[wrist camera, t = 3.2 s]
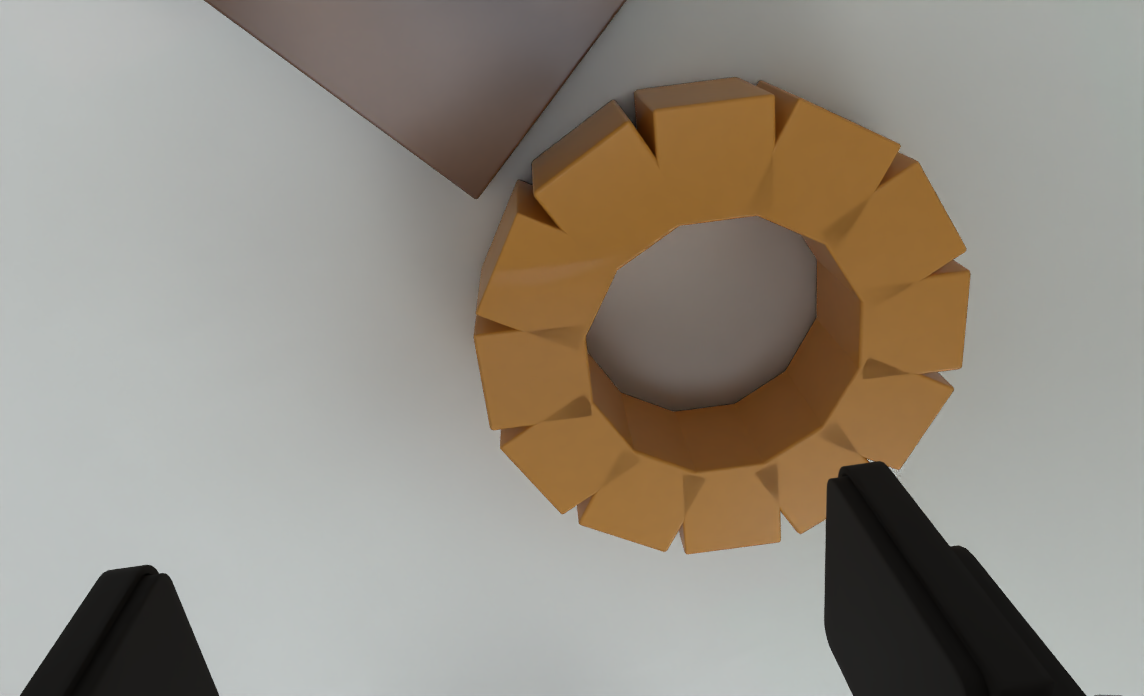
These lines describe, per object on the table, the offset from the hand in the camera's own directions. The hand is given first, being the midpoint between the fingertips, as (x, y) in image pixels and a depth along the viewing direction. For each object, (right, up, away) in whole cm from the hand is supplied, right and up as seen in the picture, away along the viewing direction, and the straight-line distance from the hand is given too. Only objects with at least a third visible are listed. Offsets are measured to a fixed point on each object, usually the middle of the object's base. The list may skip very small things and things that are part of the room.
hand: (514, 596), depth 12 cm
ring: (+4, +5, +9) cm, 11 cm away
